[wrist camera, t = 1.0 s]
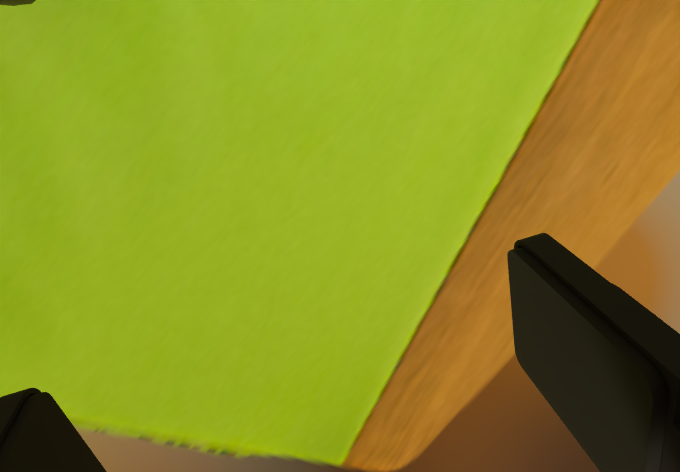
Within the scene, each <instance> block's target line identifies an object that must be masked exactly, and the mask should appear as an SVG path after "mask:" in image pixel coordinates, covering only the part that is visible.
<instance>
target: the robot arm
mask: <svg viewBox="0 0 680 472" xmlns="http://www.w3.org/2000/svg"><path fill="white" fill-rule="evenodd" d="M508 270H509V282H510V295H511V307H512V320H513V332H514V345H515V353H516V356H517V359H518V361H519V363H520V365H521V367H522V368H523V369H524V371H525V372H526V374H527V375H528V376H529V377H530V379H531V380H532V382H533V383H534V384H535V385H536V387H537V388H538V389H539V391H540V392H541V393H542V395H543V396H544V397H545V399H546V400H547V401H548V403H549V404H550V405H551V407H552V408H553V409H554V411H555V412H556V413H557V415H558V416H559V417H560V419H561V420H562V421H563V423H564V424H565V425H566V426H567V428H568V429H569V431H570V432H571V433H572V434H573V436H574V437H575V438H576V440H577V441H578V442H579V444H580V445H581V447H582V448H583V449H584V450H585V452H586V453H587V454H588V456H589V457H590V459H591V460H592V461H593V462H594V464H595V465H596V467H597V468H598V469H599V470H600V472H680V334H679V333H678V332H676V331H675V330H674V329H672V328H671V327H670V326H668V325H667V324H666V323H664V322H663V321H662V320H661V319H660V318H658V317H657V316H656V315H654V314H653V313H652V312H650V311H649V310H648V309H647V308H645V307H644V306H643V305H641V304H640V303H639V302H637V301H636V300H635V299H634V298H632V297H631V296H629V295H628V294H627V293H626V292H624V291H623V290H622V289H621V288H619V287H617V286H616V285H614V284H612V283H610V282H609V281H607V280H606V279H605V278H603V277H602V276H601V275H600V274H598V273H597V272H596V271H594V270H593V269H592V268H591V267H589V266H588V265H587V264H585V263H584V262H583V261H582V260H580V259H579V258H578V257H576V256H575V255H574V254H573V253H571V252H570V251H569V250H567V249H566V248H565V247H564V246H562V245H561V244H560V243H558V242H557V241H556V240H555V239H553V238H552V237H551V236H549V235H548V234H546V233H541V234H538V235H534V236H531V237H528V238H524V239H521V240H518V241H516V242H515V245H514V249H513V250H510V251H509V252H508ZM0 472H106V470H105V469H104V468H103V466H102V465H101V463H100V462H99V461H98V459H97V458H96V457H95V455H94V454H93V452H92V451H91V450H90V448H89V447H88V446H87V444H86V443H85V441H84V440H83V439H82V437H81V436H80V435H79V433H78V432H77V430H76V429H75V428H74V426H73V425H72V423H71V422H70V421H69V419H68V418H67V417H66V415H65V414H64V412H63V411H62V410H61V408H60V407H59V406H58V404H57V403H56V401H55V400H54V399H53V397H52V396H51V395H50V394H49V393H47V392H41V391H40V390H38V389H36V388H29V389H26V390H22V391H19V392H16V393H12V394H9V395H6V396H3V397H1V398H0Z"/></svg>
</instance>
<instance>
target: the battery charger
mask: <svg viewBox="0 0 680 472" xmlns="http://www.w3.org/2000/svg"><path fill="white" fill-rule="evenodd" d="M34 1H35V0H0V5H11V6H15V5H23V4H32V3H33V2H34Z"/></svg>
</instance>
